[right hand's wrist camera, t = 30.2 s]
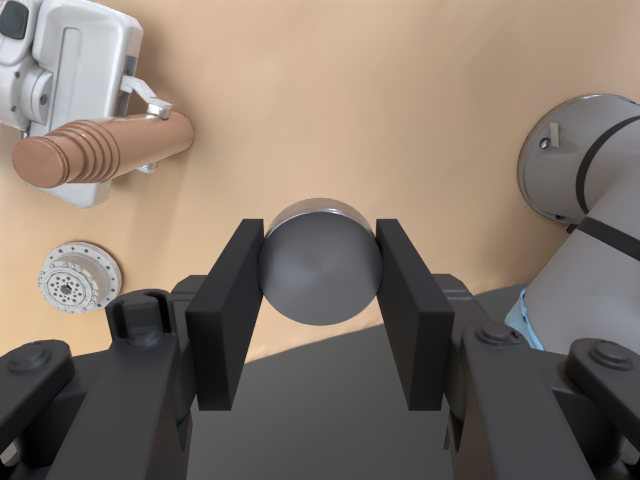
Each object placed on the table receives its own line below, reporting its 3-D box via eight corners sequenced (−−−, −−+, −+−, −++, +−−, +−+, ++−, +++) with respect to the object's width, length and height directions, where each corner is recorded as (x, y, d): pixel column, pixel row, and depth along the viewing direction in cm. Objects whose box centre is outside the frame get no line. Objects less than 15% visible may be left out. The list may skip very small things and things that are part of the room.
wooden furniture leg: (200, 144, 46) (90, 188, 24) (165, 157, 46) (26, 210, 24) (184, 105, 44) (49, 113, 22) (148, 118, 45) (-19, 138, 23)
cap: (254, 204, 14) (246, 217, 12) (373, 191, 14) (380, 204, 12) (272, 306, 15) (266, 331, 14) (379, 296, 15) (386, 320, 13)
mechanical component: (55, 229, 49) (44, 291, 53) (31, 241, 45) (20, 308, 49) (130, 256, 51) (114, 315, 54) (113, 270, 47) (98, 333, 50)
